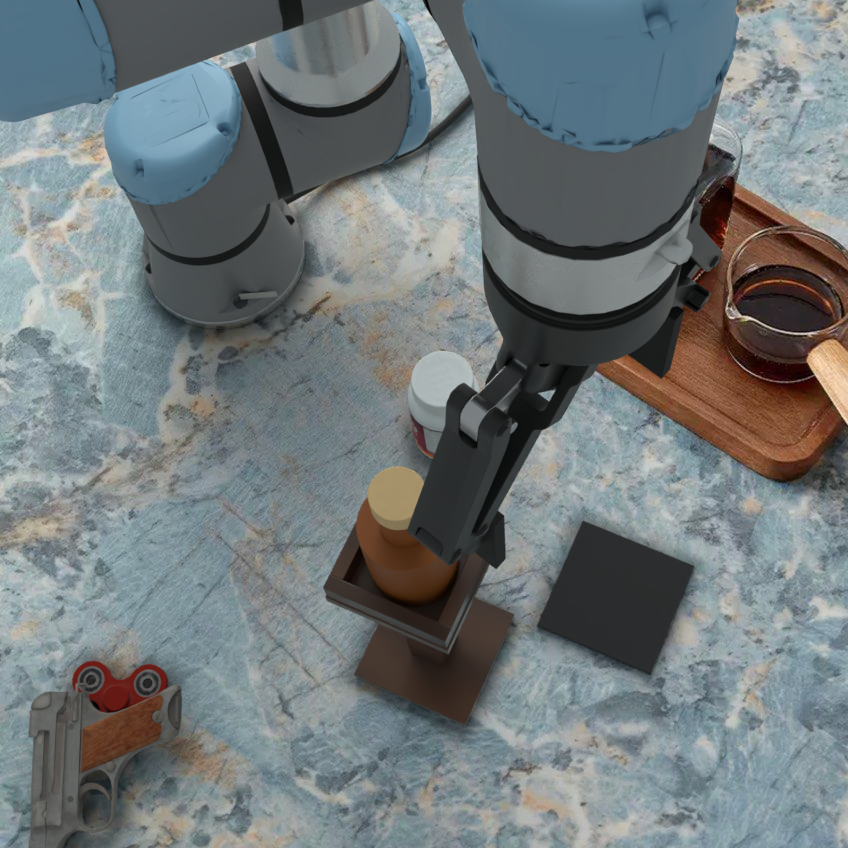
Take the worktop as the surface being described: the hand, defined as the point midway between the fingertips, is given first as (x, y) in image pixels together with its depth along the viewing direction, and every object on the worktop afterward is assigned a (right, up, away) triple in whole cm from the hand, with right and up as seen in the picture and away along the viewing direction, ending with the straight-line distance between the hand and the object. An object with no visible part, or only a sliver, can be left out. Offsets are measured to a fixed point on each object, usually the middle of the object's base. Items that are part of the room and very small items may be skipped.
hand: (565, 451), depth 67 cm
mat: (+9, -13, +41) cm, 44 cm away
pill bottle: (-5, +1, +48) cm, 49 cm away
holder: (-6, -17, +41) cm, 45 cm away
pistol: (-27, -28, +36) cm, 53 cm away
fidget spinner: (-33, -21, +41) cm, 57 cm away
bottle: (-8, -8, +20) cm, 23 cm away
